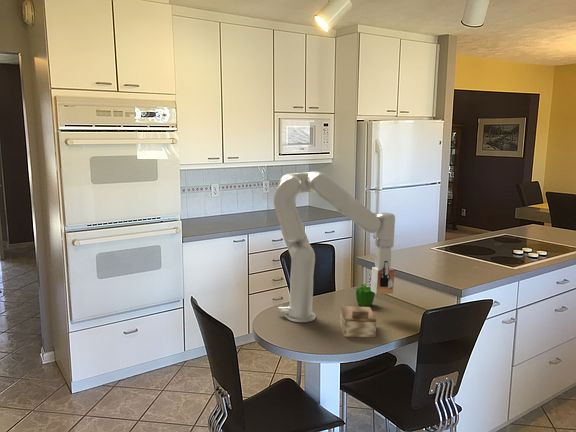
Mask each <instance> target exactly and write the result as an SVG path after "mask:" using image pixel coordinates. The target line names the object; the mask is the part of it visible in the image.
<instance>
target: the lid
mask: <svg viewBox="0 0 576 432" xmlns="http://www.w3.org/2000/svg"><path fill="white" fill-rule="evenodd" d="M340 311H342V314H343V317H344V320H345V321H376V322H377V318H376V316H375V314H374V312H373V310H372V308H371V307H370V306H368V307H364V306H349V305H348V306H346V305H345V306H343V305H341V306H340Z"/></svg>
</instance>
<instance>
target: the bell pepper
mask: <svg viewBox="0 0 576 432" xmlns="http://www.w3.org/2000/svg"><path fill="white" fill-rule="evenodd" d="M360 285H361V286H359V287H357V288H356V289H355V299H356V301H357V304H358V305H360V307H370V306H371V305H372V304H373V302H374V301H375V296H376V294H375V293H374V292H372V291H371V286H367V285H366V283H364V282H360Z"/></svg>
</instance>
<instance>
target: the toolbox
mask: <svg viewBox="0 0 576 432" xmlns="http://www.w3.org/2000/svg"><path fill="white" fill-rule="evenodd" d="M339 312H340V314H339V316H340V317H339V324H340V328H341V330H342V331H341V332H342V334H343V337H347V338H348V337H352V338H354V337H356V338H376V336H377V334H376V332H377V320H376V321H345V320H344V317H343V314H342V311H341V310H340V311H339Z"/></svg>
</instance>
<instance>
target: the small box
mask: <svg viewBox="0 0 576 432" xmlns="http://www.w3.org/2000/svg"><path fill="white" fill-rule="evenodd" d="M383 270H385V269H383ZM395 271H396V269H394V268H393V267H392V266H391V267H390V270H389V272H388V273H389V274H388V275H389V277H388V287H381V286H380V278H381V270H380V271H379V270H378V269H377V268H376V267H375V266H372V267H371V278H370V279H371V281H370V288H371V291H372V292H374V293H375V295H386V294H387V295H389V294H394V287H395V283H394V282H395V273H396V272H395ZM383 273H384V272H383Z"/></svg>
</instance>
